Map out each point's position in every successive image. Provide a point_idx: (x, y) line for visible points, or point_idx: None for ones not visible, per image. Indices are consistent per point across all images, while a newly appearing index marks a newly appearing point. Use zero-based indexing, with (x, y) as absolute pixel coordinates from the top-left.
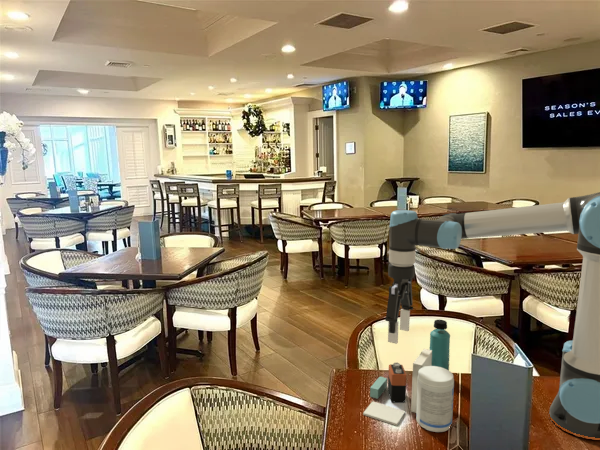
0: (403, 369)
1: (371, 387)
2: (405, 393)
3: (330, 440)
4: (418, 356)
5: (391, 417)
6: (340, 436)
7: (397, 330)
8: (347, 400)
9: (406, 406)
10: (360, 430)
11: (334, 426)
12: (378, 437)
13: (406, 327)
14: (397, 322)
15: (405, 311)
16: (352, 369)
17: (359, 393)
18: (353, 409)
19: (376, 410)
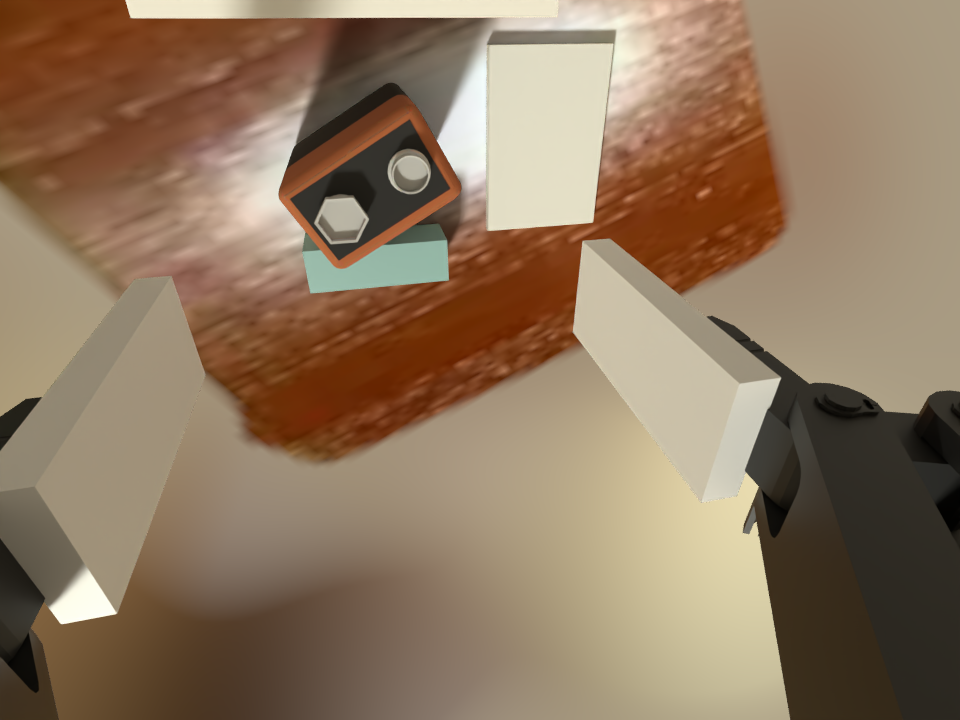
0: (349, 154)
1: (444, 275)
2: (397, 88)
3: (774, 241)
4: (381, 12)
5: (574, 92)
6: (746, 224)
7: (692, 308)
8: (518, 320)
9: (420, 62)
10: (692, 178)
11: (697, 271)
12: (715, 90)
13: (167, 323)
14: (775, 379)
15: (81, 527)
16: (267, 430)
17: (441, 309)
18: (568, 270)
19: (551, 181)
